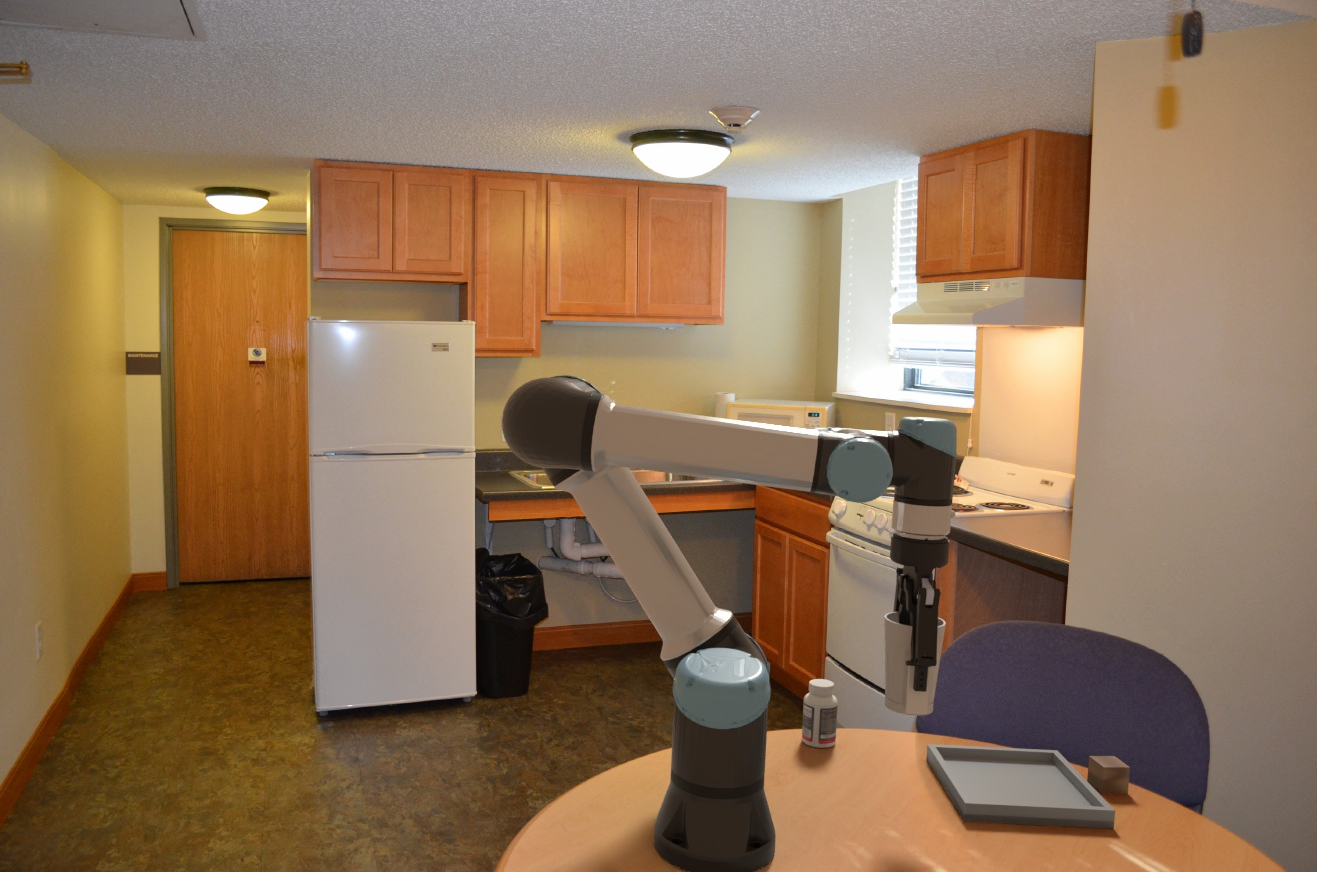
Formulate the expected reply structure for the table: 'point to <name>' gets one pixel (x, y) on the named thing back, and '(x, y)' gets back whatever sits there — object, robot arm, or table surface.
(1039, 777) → the tray
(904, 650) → the cup
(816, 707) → the pill bottle
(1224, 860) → the table surface
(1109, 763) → the walnut block
